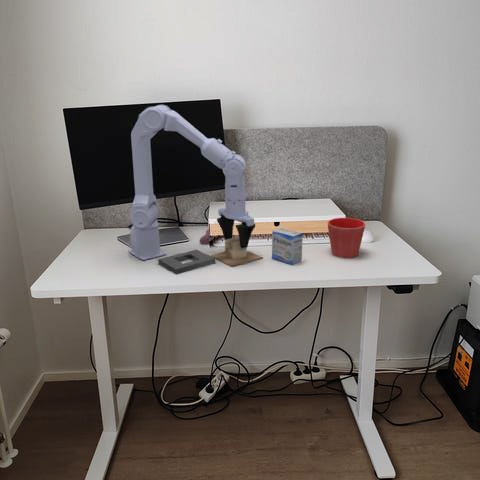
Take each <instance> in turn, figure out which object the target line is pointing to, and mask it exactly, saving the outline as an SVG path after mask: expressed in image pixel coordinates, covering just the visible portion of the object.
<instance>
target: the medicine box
mask: <svg viewBox="0 0 480 480" xmlns="http://www.w3.org/2000/svg"><path fill="white" fill-rule="evenodd" d="M271 235H272V236H271V237H272V238H271V240H272V241H271V259H272V260H275V261H279V262H282V263H285V264H288V265H291V266H294V265H296V264H299V263H301V262H302V261H303V236H304V235H303V233H302V232H297V231H295V230H294V231H293V230H289V229H285V228H277V229H274V230H273V231H272V234H271Z"/></svg>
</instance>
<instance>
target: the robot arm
mask: <svg viewBox="0 0 480 480" xmlns="http://www.w3.org/2000/svg"><path fill="white" fill-rule="evenodd" d="M162 129H163V130H164V131H165V132H177V133H178V134H180V135H182V136H183V137H184V138H185V139H187V140H188V141H190V142H192V143H193V144H194V145H196V146H197V147H199V148H200V152H201V155H202V156H203V157H204V158H205V159H207V160H208V161H210V162H211V163H212V164H213V165H215V166H216V167H217V168H219V169H222V172H223V175H224V176H225V183H224V194H225V195H224V197H225V199H224V200H225V201H224V202H225V204H224V205H225V207H223V208H219V209H218V211H217V212H218V218H216V222H217V223H219V225H220V227H221V229H220V230H221V231H222V235H223V239H224V241H225V240H227V239H231V238H234V237H233V233H234V232H233V231H234V226H235V228H236V230H237V233H238V237H239V240H240V247H241V248H245V247H246V248H248V247H249V243H250V238H251V235H252V234H253V232H254V229H255V228H256V223H255V218H254V217H252V216H250V215H249V211H248V210H246V181H245V180H246V177H245V171H246V169H247V163H246V161H245V158H243V156H242V155H241V154H236V153H237V152H235V151H234V150H230V149H229V148H228V147H226V146H225V145H224V144H222V143H223V140H221V139H220V138H218V139H216V138H214V137H211V138H208V137H206V136H205V135H204V134H203V133H202V132H200V131H199V129H197V128H195V126H194V125H192V124H191V123H190V122H188V120H186V119H185V118H184V117H183V116H182V115H180V114H179V113H178V112H177V111H175V110H173V109H171V108H170V107H169V106H168V105H165V104H158V105H155V106H148V107H146V108H145V109H144V110H143V111H141V113H140V114H138V118H137V121H136V122H135V125H134V126H133V128H132V130H131V133H130V138H131V139H130V140H131V151H132V152H131V153H132V165H133V167H132V168H133V181H134V194H135V195H134V197H133V198H134V199H133V202H132V209H131V210H132V211H131V213H130V215H129V216H130V217H129V218H130V223H131V224H132V226H131V227H130V231H129V236H130V237H129V239H130V246H131V247H130V250H128V253H129V254H131V255H133V256H135V257H136V258H138V259H139V260H141V261H145V260H150V259H155V258H158V257H162V256H166V255H167V253H166V252H164V251H163V250H161V243H160V241H161V240H160V239H161V238H160V229H159V228H160V226H159V222H158V218H159V216H160V214H161V211H160V207H159V205H158V203H157V197H156V195H155V194H154V185H153V183H154V181H153V180H154V179H153V168H152V167H153V166H152V165H153V164H152V149H151V139H152V138H153V137H154V136H156V134H157V133H158V132H159V131H161V130H162ZM235 221H236V222H239V224H236V225H234V224H235Z"/></svg>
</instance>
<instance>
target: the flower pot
mask: <svg viewBox="0 0 480 480" xmlns="http://www.w3.org/2000/svg"><path fill="white" fill-rule="evenodd" d="M365 227H366V223H365V221H363V220H361V219H357V218H355V217H354V218H353V217H335V218H331V219H329V220H328V221H327V229H328V230H327V231H328V238H329V245H330V250H331V253H332V256H335V257H338V258H346V259H350V258H351V259H352V258H356V257H357V256H359V252H360V249H361V248H360V247H361V245H362V240H363V237H364V231H365Z"/></svg>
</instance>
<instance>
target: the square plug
mask: <svg viewBox="0 0 480 480" xmlns="http://www.w3.org/2000/svg"><path fill="white" fill-rule="evenodd" d="M247 251H248V250H247V247H245V248H241V247H240V240H239V236H235V237H232V238H231V239H227V240H225V239H224V252H225V256H226V257H229V258H231V259H233V260H237V259H240V258H244V257H247Z"/></svg>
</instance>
